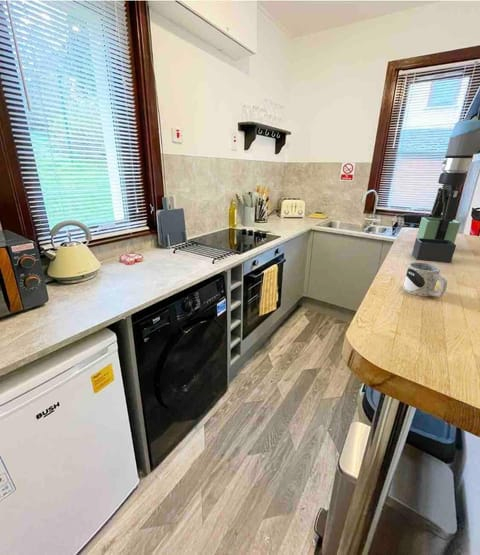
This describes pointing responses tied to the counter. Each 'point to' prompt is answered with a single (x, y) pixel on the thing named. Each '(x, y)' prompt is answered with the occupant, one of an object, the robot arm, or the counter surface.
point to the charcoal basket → (433, 250)
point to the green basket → (430, 229)
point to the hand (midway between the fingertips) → (435, 236)
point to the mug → (423, 280)
